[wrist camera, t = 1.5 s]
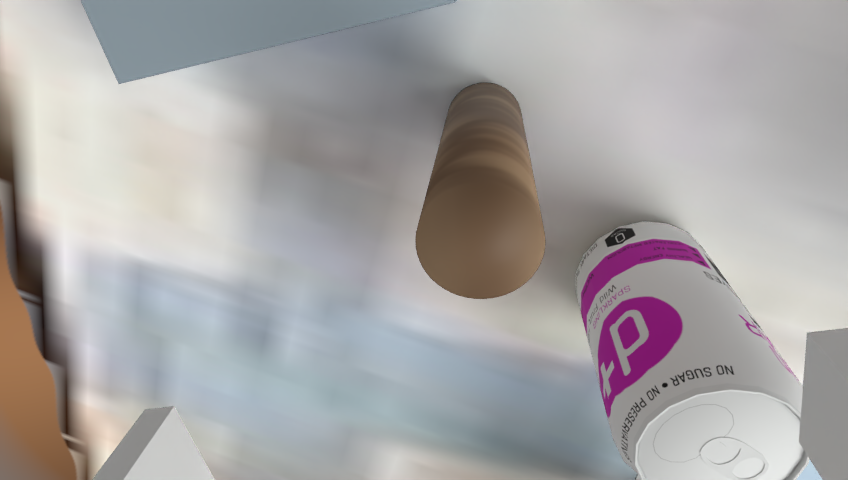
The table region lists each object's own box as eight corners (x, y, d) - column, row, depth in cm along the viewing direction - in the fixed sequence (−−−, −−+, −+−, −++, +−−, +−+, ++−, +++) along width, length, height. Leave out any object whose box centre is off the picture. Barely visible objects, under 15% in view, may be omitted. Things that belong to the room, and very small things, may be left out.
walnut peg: (515, 75, 32) (535, 173, 18) (526, 148, 34) (553, 289, 20) (440, 91, 33) (402, 196, 19) (455, 162, 35) (431, 306, 21)
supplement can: (548, 285, 38) (579, 464, 25) (633, 192, 34) (724, 342, 21) (641, 344, 39) (719, 544, 26) (732, 260, 36) (876, 442, 22)
